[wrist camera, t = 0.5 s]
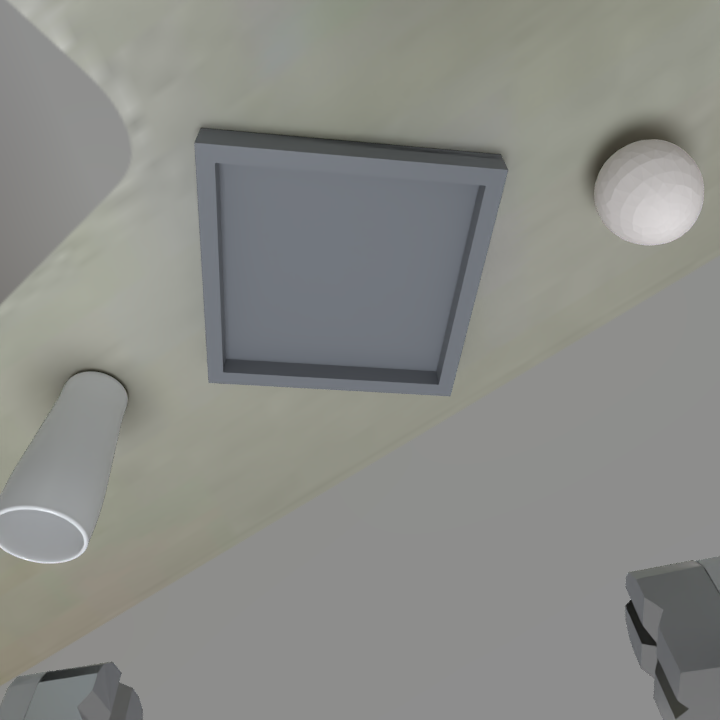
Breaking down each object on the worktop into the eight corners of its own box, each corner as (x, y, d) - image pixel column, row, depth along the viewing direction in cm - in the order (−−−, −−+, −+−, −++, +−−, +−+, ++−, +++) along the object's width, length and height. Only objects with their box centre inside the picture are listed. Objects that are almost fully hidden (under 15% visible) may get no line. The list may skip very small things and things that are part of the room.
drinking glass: (130, 361, 55) (76, 506, 44) (144, 419, 60) (98, 565, 48) (48, 360, 55) (-29, 506, 43) (67, 418, 59) (2, 565, 48)
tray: (200, 127, 43) (194, 142, 41) (500, 154, 45) (508, 169, 43) (213, 362, 56) (208, 382, 54) (446, 376, 57) (450, 396, 55)
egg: (561, 185, 46) (596, 241, 40) (627, 104, 43) (675, 153, 37) (627, 225, 48) (669, 284, 42) (695, 151, 45) (751, 205, 39)
